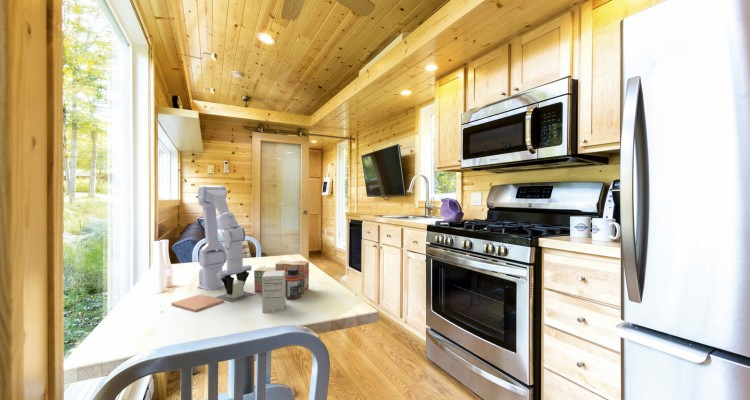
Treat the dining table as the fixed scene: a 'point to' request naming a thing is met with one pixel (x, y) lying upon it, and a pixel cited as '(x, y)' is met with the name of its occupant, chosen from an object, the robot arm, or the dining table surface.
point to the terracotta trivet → (197, 302)
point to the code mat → (246, 294)
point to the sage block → (237, 289)
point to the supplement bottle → (293, 284)
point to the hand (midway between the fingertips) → (235, 292)
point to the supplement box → (273, 291)
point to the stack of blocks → (284, 266)
